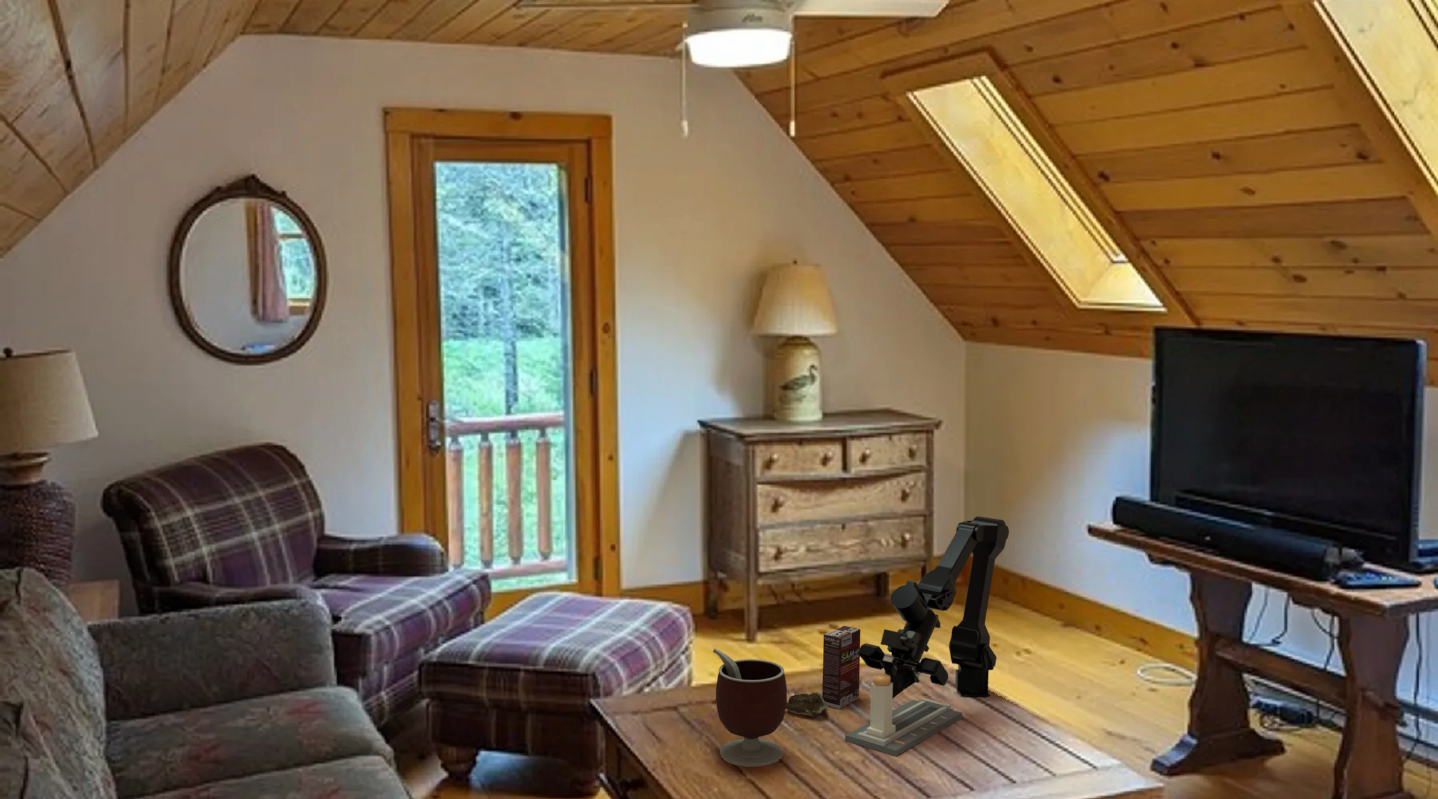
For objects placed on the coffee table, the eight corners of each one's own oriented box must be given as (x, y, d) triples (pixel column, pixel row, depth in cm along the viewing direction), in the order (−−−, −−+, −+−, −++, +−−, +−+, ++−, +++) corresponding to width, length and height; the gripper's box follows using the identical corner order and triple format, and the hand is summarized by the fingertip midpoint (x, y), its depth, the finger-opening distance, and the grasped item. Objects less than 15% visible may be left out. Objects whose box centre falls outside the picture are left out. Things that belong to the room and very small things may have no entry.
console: (913, 704, 271) (913, 695, 271) (962, 718, 263) (962, 708, 263) (845, 740, 251) (845, 730, 251) (895, 756, 244) (896, 745, 243)
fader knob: (880, 730, 253) (881, 671, 252) (895, 734, 251) (896, 675, 249) (866, 737, 249) (867, 677, 248) (881, 742, 247) (882, 681, 246)
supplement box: (840, 710, 268) (840, 638, 266) (821, 705, 271) (821, 634, 269) (860, 698, 275) (861, 628, 273) (842, 693, 278) (842, 624, 276)
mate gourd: (798, 748, 247) (799, 651, 245) (765, 774, 235) (765, 671, 233) (731, 733, 255) (731, 639, 253) (695, 757, 243) (695, 658, 241)
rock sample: (838, 688, 270) (818, 671, 265) (841, 720, 265) (820, 703, 259) (797, 702, 274) (776, 685, 269) (799, 734, 269) (778, 717, 264)
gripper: (863, 605, 259) (832, 670, 252) (942, 622, 247) (911, 690, 240) (883, 633, 266) (853, 697, 259) (961, 651, 254) (932, 718, 247)
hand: (886, 700), depth 251 cm, fingers closed, pressing on fader knob
